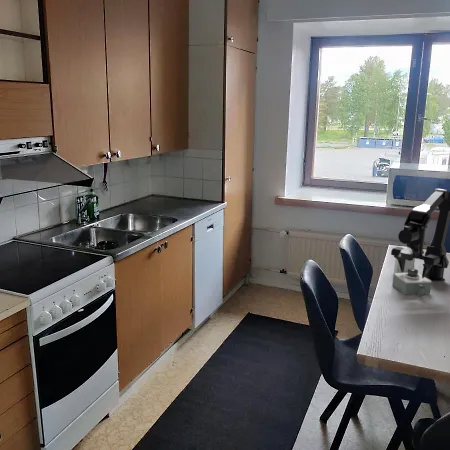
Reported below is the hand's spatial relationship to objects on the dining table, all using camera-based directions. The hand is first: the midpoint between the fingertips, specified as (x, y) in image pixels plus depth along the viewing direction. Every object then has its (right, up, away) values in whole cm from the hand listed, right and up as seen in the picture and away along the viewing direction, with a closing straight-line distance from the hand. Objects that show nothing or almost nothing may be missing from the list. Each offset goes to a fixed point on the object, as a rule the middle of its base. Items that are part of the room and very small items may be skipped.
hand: (412, 275), depth 198 cm
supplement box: (+3, -2, +19) cm, 20 cm away
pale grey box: (0, -7, 0) cm, 7 cm away
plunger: (0, -6, +1) cm, 6 cm away
